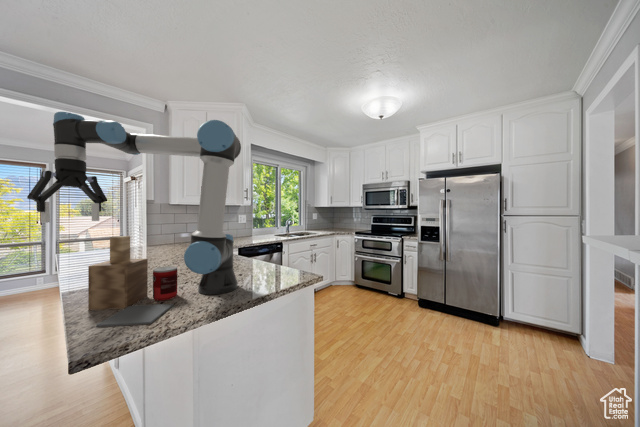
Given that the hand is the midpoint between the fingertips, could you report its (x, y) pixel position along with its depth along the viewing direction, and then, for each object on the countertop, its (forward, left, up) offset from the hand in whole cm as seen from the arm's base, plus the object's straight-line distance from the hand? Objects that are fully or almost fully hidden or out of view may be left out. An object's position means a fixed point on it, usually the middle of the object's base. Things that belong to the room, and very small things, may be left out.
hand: (72, 221), depth 82 cm
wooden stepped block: (-14, -1, -29) cm, 32 cm away
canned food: (-27, -5, -29) cm, 40 cm away
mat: (-27, +11, -29) cm, 41 cm away
